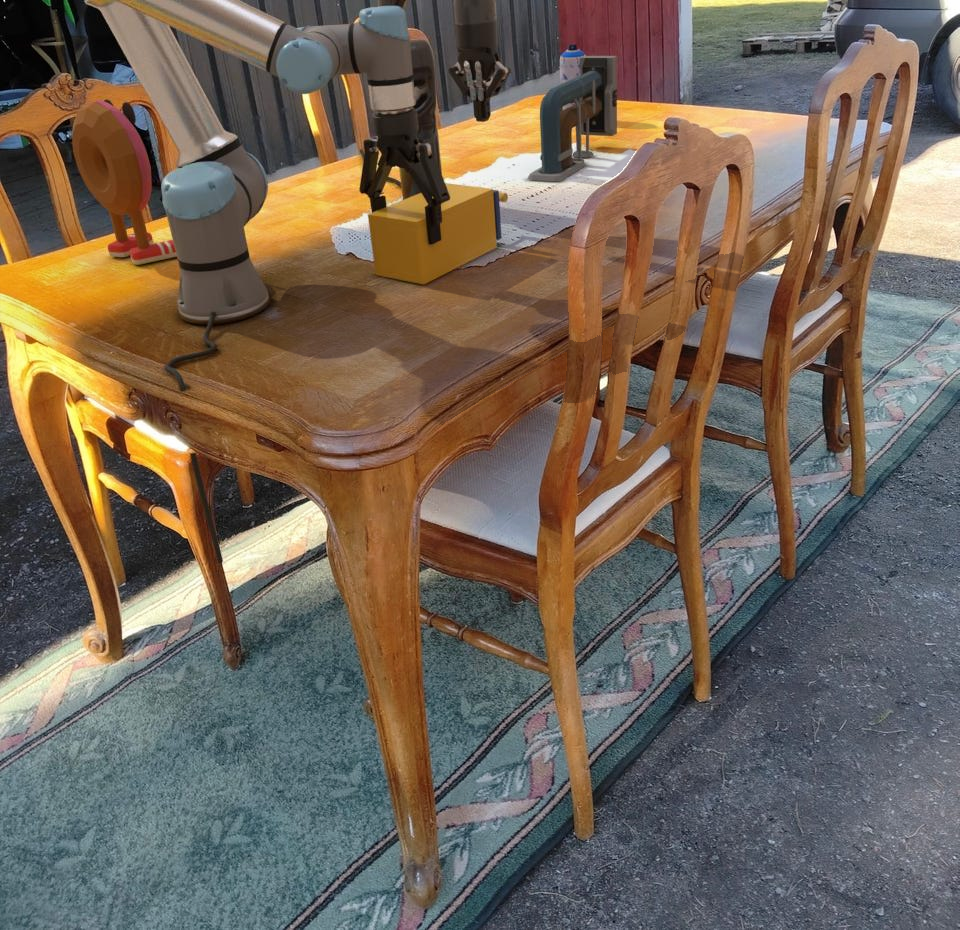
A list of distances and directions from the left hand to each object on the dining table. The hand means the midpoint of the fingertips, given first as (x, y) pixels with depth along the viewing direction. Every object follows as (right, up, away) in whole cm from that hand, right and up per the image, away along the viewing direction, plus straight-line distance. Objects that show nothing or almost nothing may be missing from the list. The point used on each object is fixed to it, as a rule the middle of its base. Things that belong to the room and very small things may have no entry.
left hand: (408, 237), depth 171 cm
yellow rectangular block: (+5, -2, +8) cm, 10 cm away
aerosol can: (+40, +59, +106) cm, 128 cm away
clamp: (+35, +33, +64) cm, 80 cm away
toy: (-56, +2, +25) cm, 61 cm away
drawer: (+9, +1, +12) cm, 15 cm away
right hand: (+13, +24, +8) cm, 28 cm away
